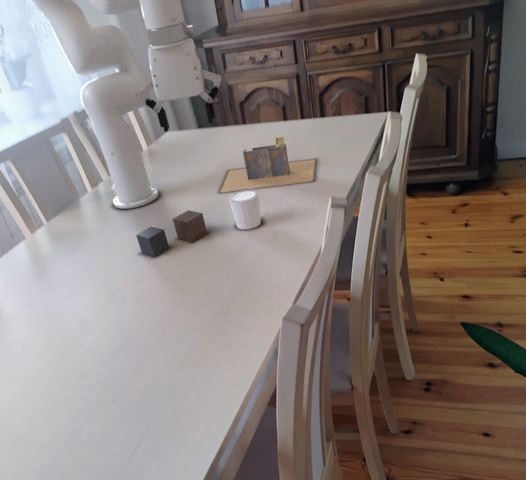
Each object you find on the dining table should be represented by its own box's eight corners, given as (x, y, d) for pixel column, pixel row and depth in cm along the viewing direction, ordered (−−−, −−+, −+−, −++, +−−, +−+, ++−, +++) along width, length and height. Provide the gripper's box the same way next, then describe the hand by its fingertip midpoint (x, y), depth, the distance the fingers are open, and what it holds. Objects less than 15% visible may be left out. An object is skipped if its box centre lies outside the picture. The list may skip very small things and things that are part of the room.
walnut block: (177, 238, 134) (172, 218, 131) (193, 229, 136) (188, 210, 133) (192, 242, 131) (186, 222, 128) (207, 233, 133) (202, 213, 130)
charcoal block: (141, 253, 130) (135, 234, 128) (156, 244, 133) (151, 226, 130) (154, 256, 128) (148, 238, 125) (169, 247, 130) (164, 229, 127)
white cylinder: (260, 229, 130) (254, 200, 126) (231, 231, 132) (225, 203, 128) (266, 216, 135) (261, 188, 131) (238, 218, 137) (232, 190, 133)
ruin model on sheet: (315, 159, 161) (311, 124, 156) (313, 181, 148) (308, 143, 143) (229, 170, 166) (222, 136, 160) (220, 192, 153) (212, 156, 147)
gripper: (212, 25, 113) (229, 114, 123) (128, 41, 115) (152, 128, 125) (210, 30, 107) (228, 123, 117) (121, 47, 109) (147, 138, 119)
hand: (189, 126), depth 121 cm, fingers open, 9 cm apart
